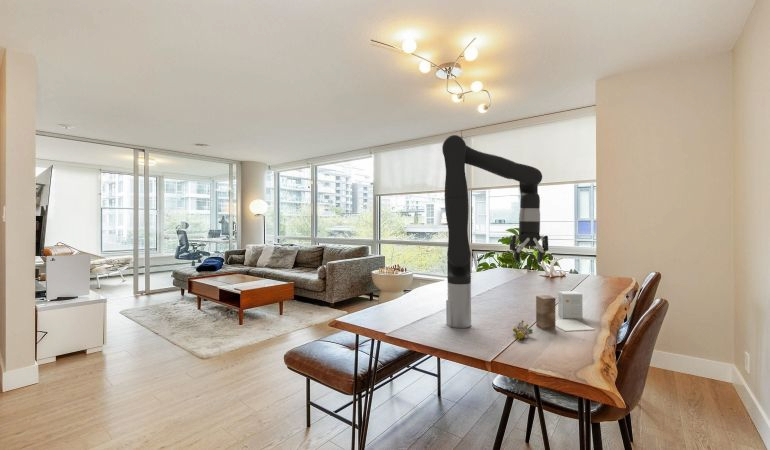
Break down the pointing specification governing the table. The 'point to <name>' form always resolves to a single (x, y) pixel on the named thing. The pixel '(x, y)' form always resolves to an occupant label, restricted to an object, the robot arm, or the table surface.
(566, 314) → the small box
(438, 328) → the table surface
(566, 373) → the table surface
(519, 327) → the yellow-green lumpy cluster
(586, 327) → the mat
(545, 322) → the walnut block
